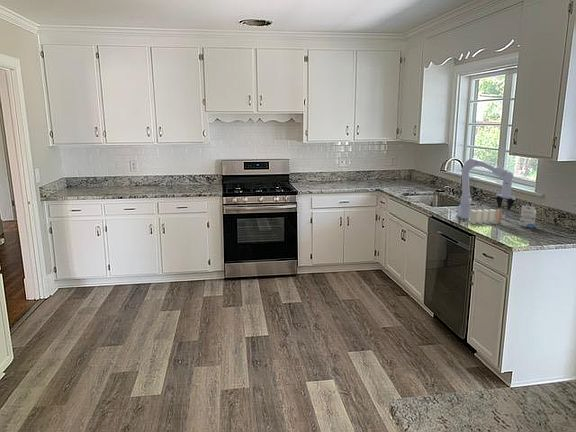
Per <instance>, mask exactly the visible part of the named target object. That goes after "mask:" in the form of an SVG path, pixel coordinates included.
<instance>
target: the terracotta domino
mask: <svg viewBox="0 0 576 432" xmlns="http://www.w3.org/2000/svg"><path fill="white" fill-rule="evenodd" d="M496 211H497V213H496V222H497V223H501V220H502V218H503V217H502V216H503V209H500V208H497V210H496Z"/></svg>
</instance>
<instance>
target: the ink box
mask: <svg viewBox="0 0 576 432" xmlns="http://www.w3.org/2000/svg"><path fill="white" fill-rule="evenodd" d="M536 216H537V209H536V207H535V206H530V205H521V209H520V216H519V223H518V225H519V227H524V228H526V227H527V228H531V229H532V228H534V227H535V222H536Z"/></svg>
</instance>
